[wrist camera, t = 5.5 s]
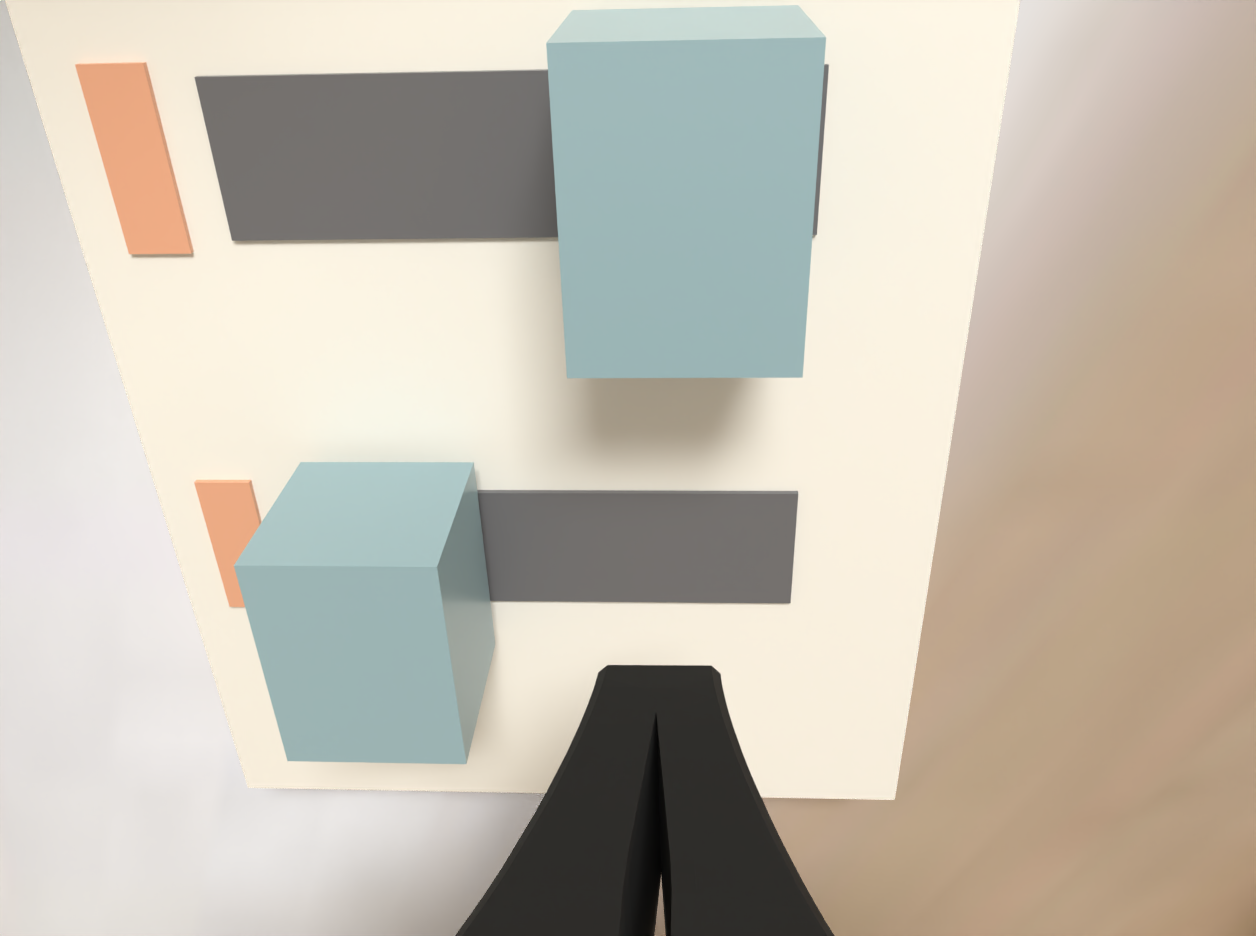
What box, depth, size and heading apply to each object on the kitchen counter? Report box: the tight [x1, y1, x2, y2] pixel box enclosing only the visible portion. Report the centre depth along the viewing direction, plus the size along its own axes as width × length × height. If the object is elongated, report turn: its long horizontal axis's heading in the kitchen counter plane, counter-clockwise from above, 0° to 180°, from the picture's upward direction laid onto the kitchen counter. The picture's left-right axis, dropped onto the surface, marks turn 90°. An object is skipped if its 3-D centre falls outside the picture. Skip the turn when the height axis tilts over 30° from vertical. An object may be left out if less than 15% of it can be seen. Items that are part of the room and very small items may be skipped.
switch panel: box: [5, 0, 1020, 800], centre depth 17 cm, size 20×14×2 cm
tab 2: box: [546, 5, 826, 378], centre depth 13 cm, size 4×3×3 cm
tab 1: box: [234, 462, 495, 764], centre depth 17 cm, size 4×3×3 cm
